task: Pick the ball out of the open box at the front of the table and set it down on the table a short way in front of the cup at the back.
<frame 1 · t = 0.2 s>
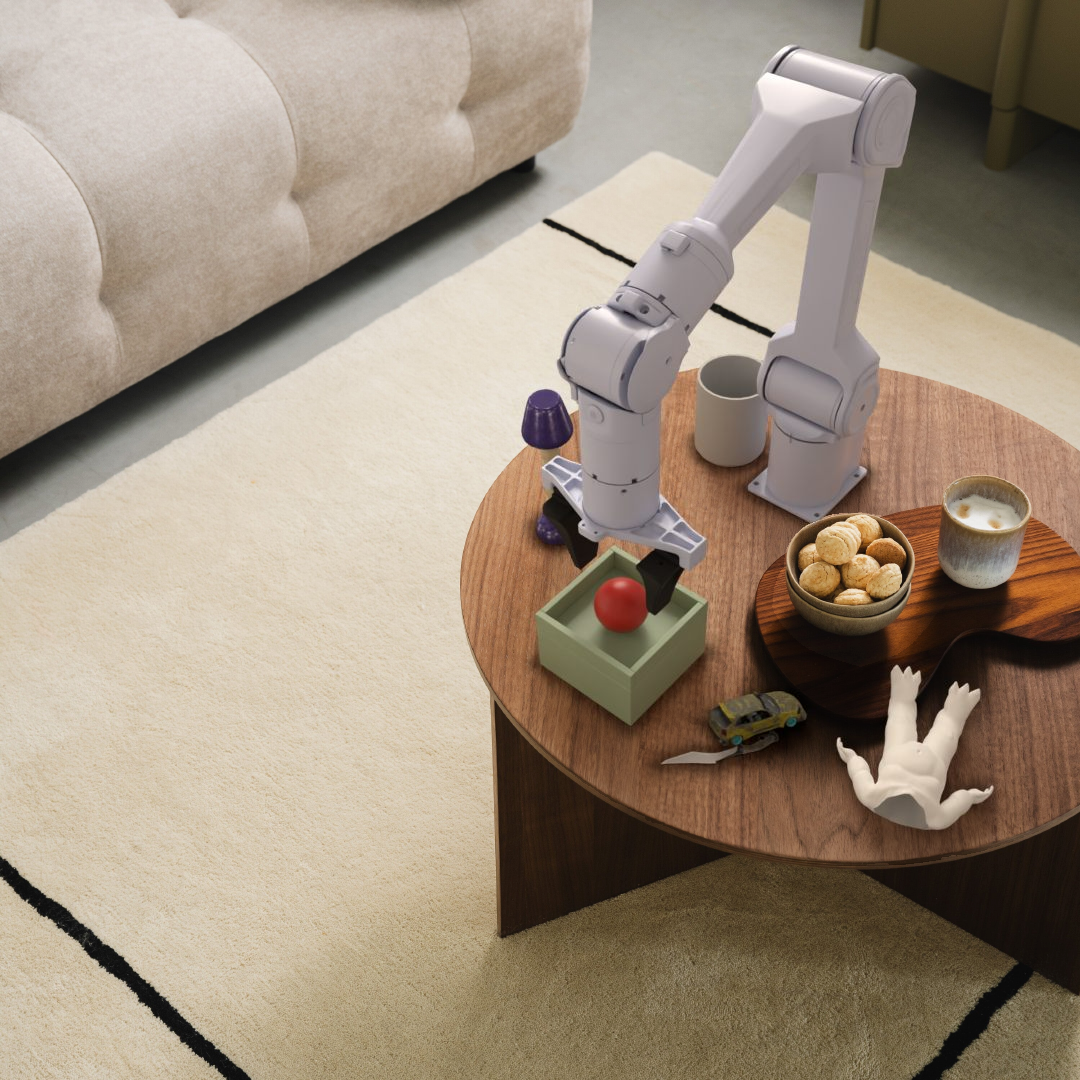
hand: (621, 583, 93), 10 cm above the table, tool pointing down, fingers open, 7 cm apart
open box: (622, 657, 100), on the table
toy creature: (930, 698, 93), point 2 cm above the table
toy lamp: (555, 532, 111), on the table
race car: (757, 723, 94), on the table, touching knife
cup: (726, 437, 119), on the table
ball: (621, 604, 95), point 7 cm above the table, touching open box
knife: (724, 721, 95), on the table, touching race car
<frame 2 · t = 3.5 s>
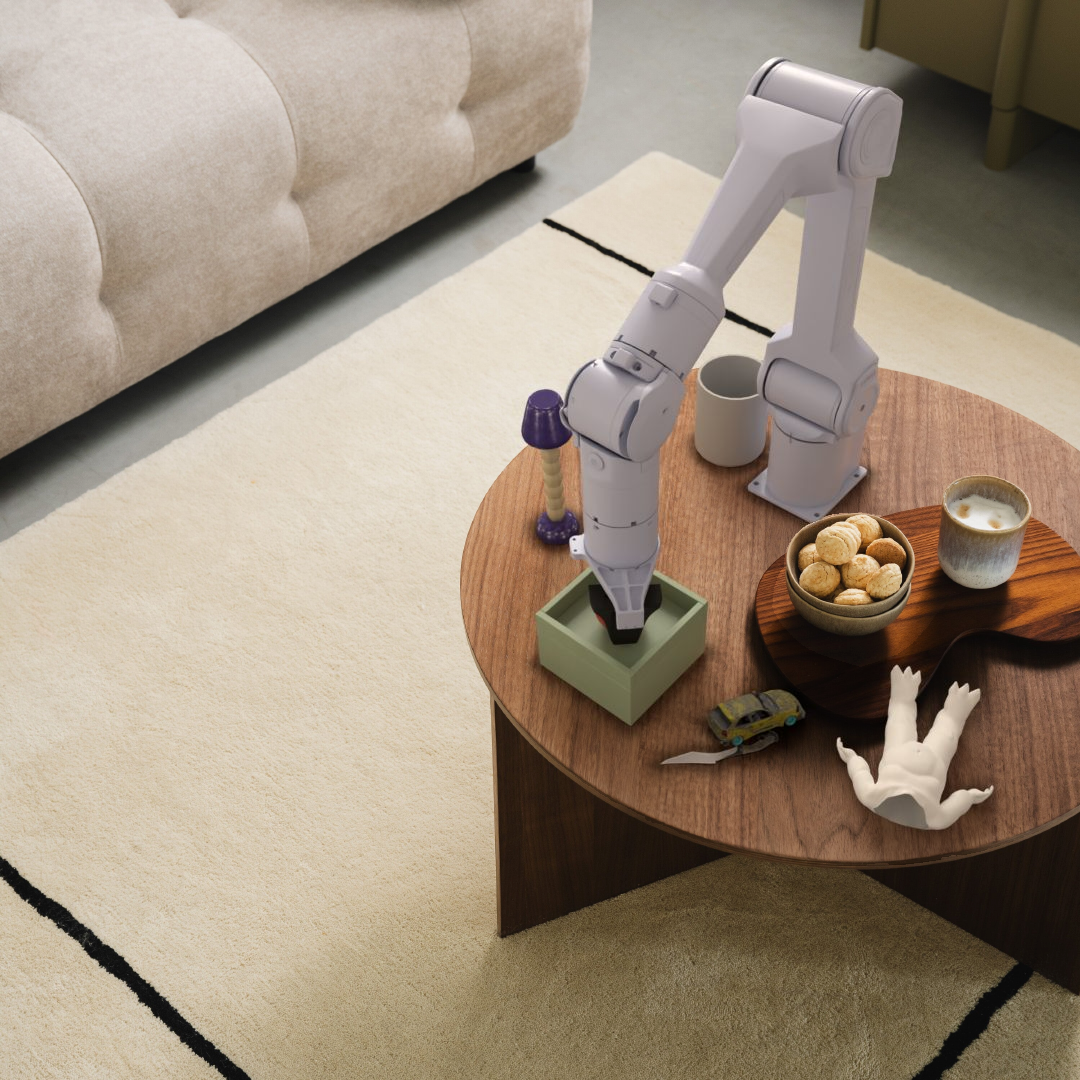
hand: (621, 617, 96), 6 cm above the table, tool pointing down, fingers closed on ball, 4 cm apart
race car: (756, 722, 94), on the table
ball: (621, 605, 95), point 7 cm above the table, touching open box, gripper
knife: (724, 721, 95), on the table
everything else where it was.
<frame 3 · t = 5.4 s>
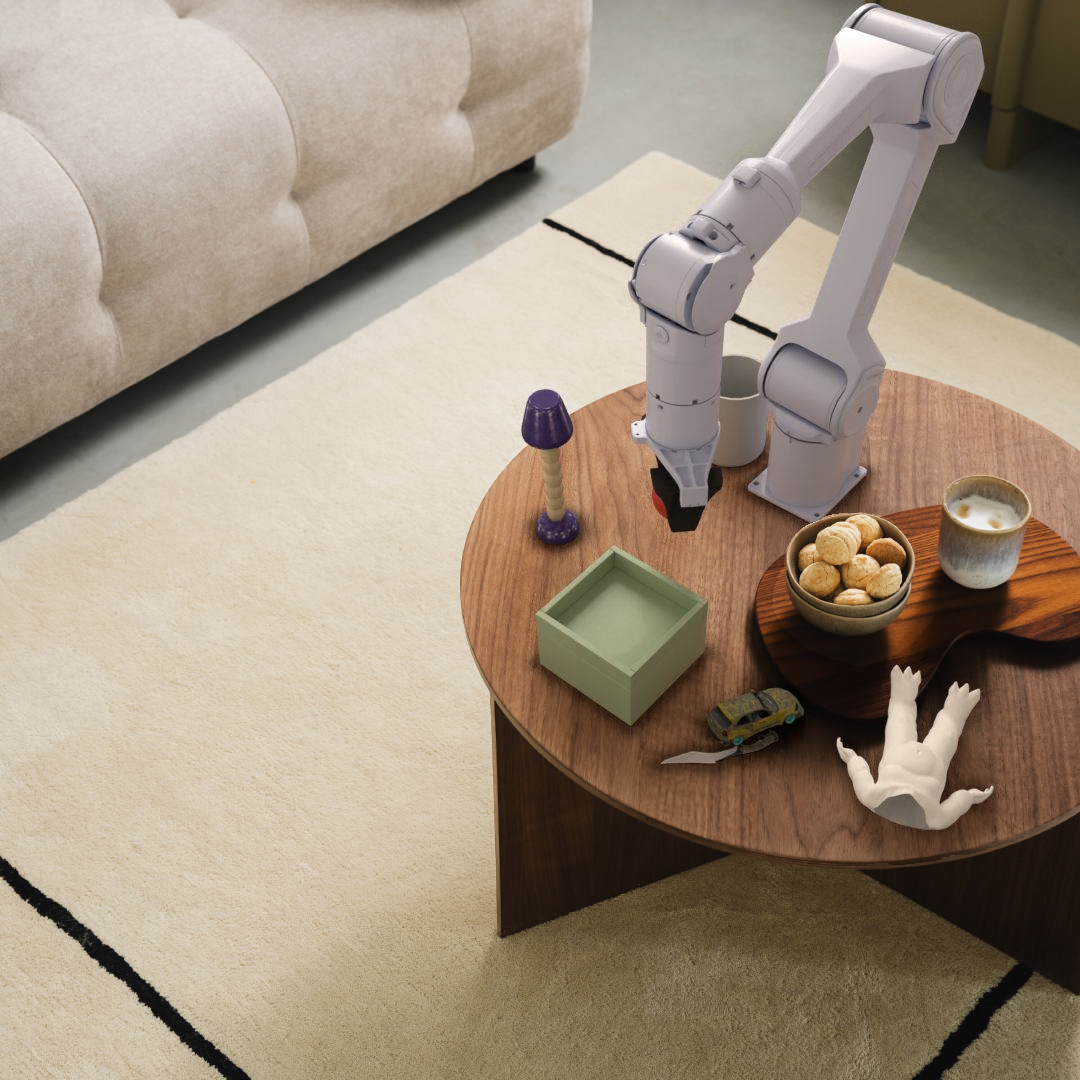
hand: (678, 507, 98), 10 cm above the table, tool pointing down, fingers closed on ball, 4 cm apart
ball: (679, 494, 97), point 12 cm above the table, touching gripper
everything else where it was.
when the fingers open (1 cm above the table, at t = 9.3 s): ball moves 2 cm and tips over, point 2 cm above the table.
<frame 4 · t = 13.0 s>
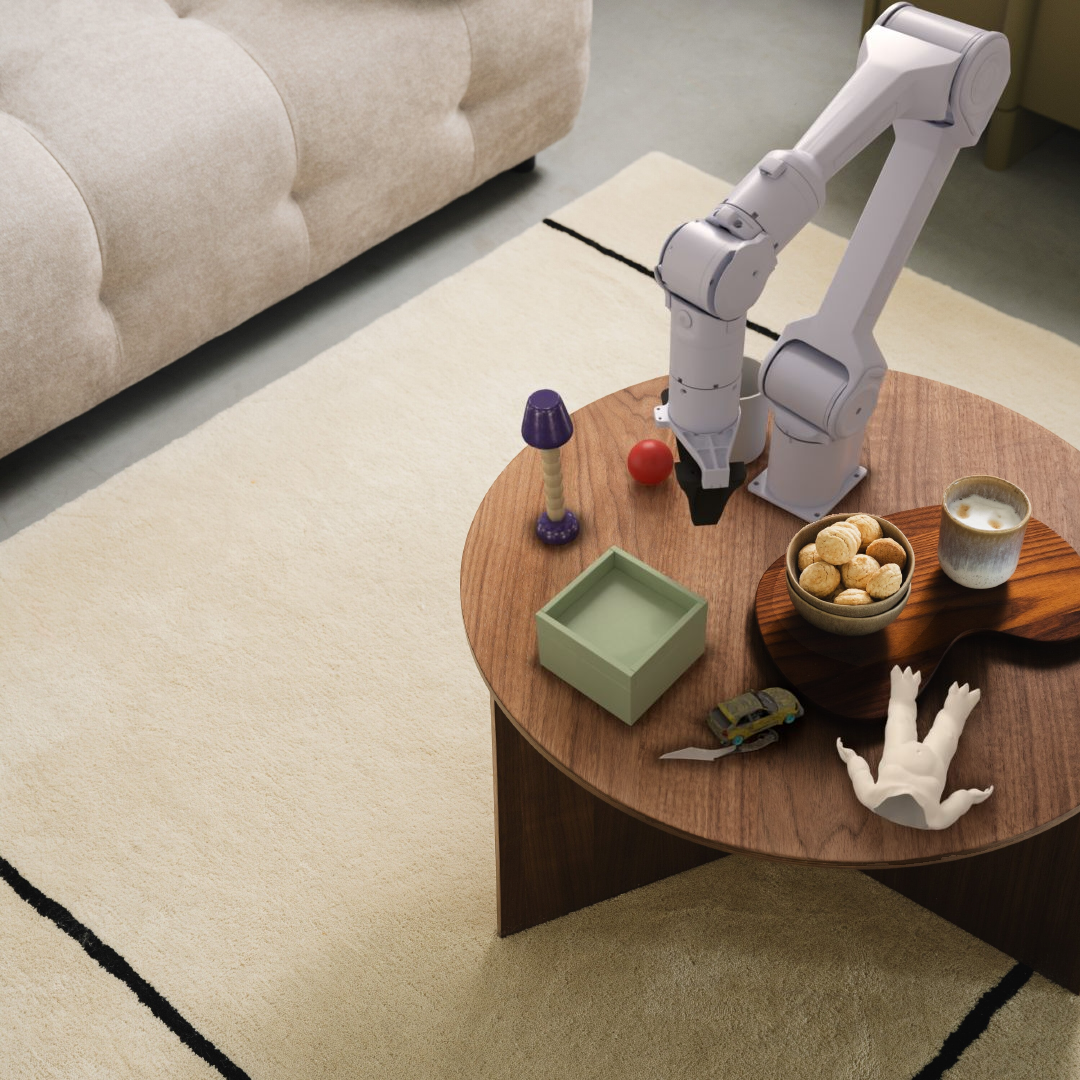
hand: (698, 491, 100), 9 cm above the table, tool pointing down, fingers open, 7 cm apart
ball: (650, 462, 114), point 2 cm above the table, tilted 40°
everything else where it was.
at the end: ball 1.7 cm from the target spot on the table beside the cup, point 2.5 cm above the table; ball touching table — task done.
